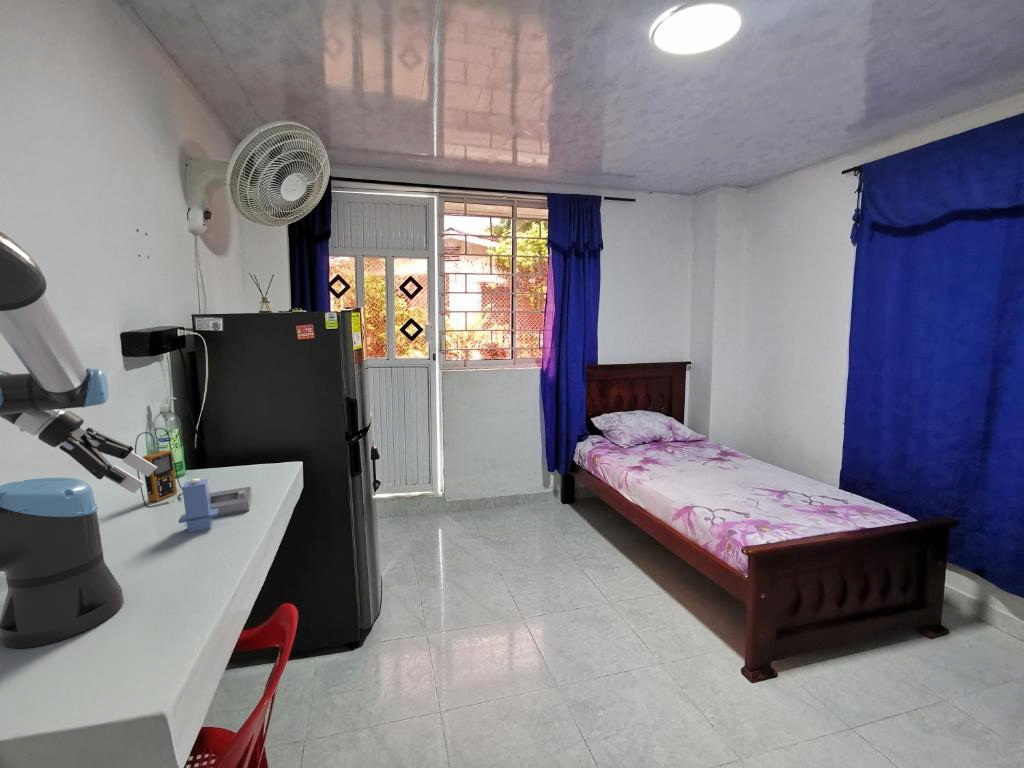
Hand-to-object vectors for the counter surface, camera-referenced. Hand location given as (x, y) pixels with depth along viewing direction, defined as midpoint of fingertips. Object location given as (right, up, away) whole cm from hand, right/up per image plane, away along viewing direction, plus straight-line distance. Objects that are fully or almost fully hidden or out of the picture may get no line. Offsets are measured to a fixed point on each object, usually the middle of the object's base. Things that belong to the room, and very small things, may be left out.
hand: (146, 479), depth 114 cm
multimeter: (-12, -11, +28) cm, 32 cm away
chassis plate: (+8, -11, +18) cm, 22 cm away
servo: (+10, -12, +5) cm, 16 cm away
